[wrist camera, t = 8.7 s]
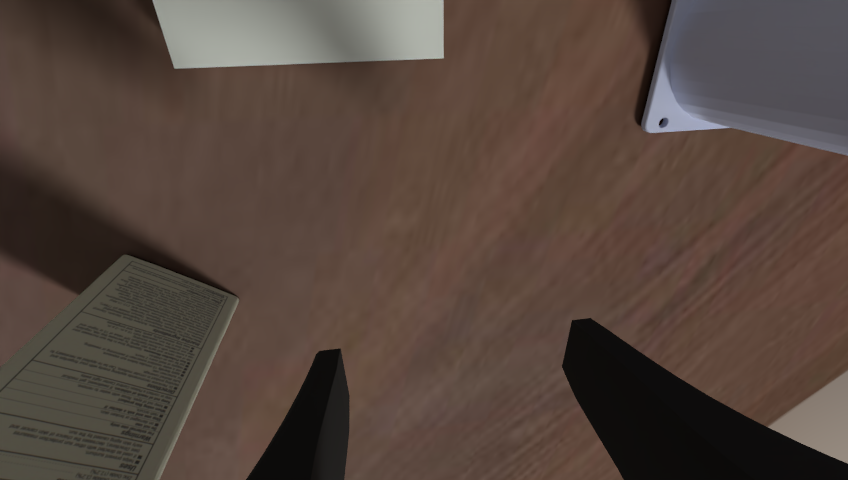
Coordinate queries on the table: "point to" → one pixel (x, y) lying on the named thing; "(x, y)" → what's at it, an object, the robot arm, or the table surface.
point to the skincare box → (111, 377)
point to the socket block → (299, 31)
